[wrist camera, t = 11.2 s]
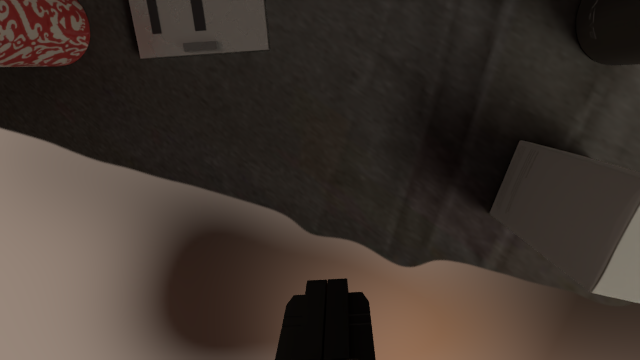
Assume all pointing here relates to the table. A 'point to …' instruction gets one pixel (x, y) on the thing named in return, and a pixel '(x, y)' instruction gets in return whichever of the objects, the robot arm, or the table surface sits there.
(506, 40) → the table surface
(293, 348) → the robot arm
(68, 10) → the mug
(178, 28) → the console
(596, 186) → the supplement box
